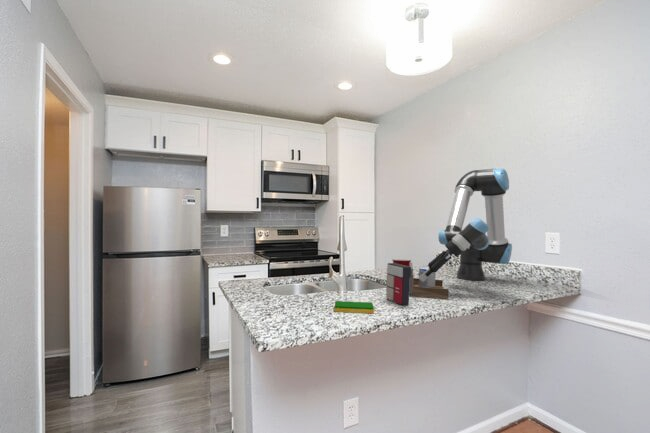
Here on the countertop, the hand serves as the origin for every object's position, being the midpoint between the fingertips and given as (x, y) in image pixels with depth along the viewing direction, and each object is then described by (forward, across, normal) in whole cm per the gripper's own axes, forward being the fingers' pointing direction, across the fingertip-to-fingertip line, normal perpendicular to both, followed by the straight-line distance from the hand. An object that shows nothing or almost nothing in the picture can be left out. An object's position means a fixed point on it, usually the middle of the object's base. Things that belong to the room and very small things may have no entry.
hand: (420, 277), depth 143 cm
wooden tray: (+2, 0, -7) cm, 7 cm away
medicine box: (+1, 0, -5) cm, 5 cm away
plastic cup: (+11, +26, +2) cm, 28 cm away
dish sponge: (+22, -40, +13) cm, 48 cm away
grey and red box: (+12, -23, +2) cm, 26 cm away
